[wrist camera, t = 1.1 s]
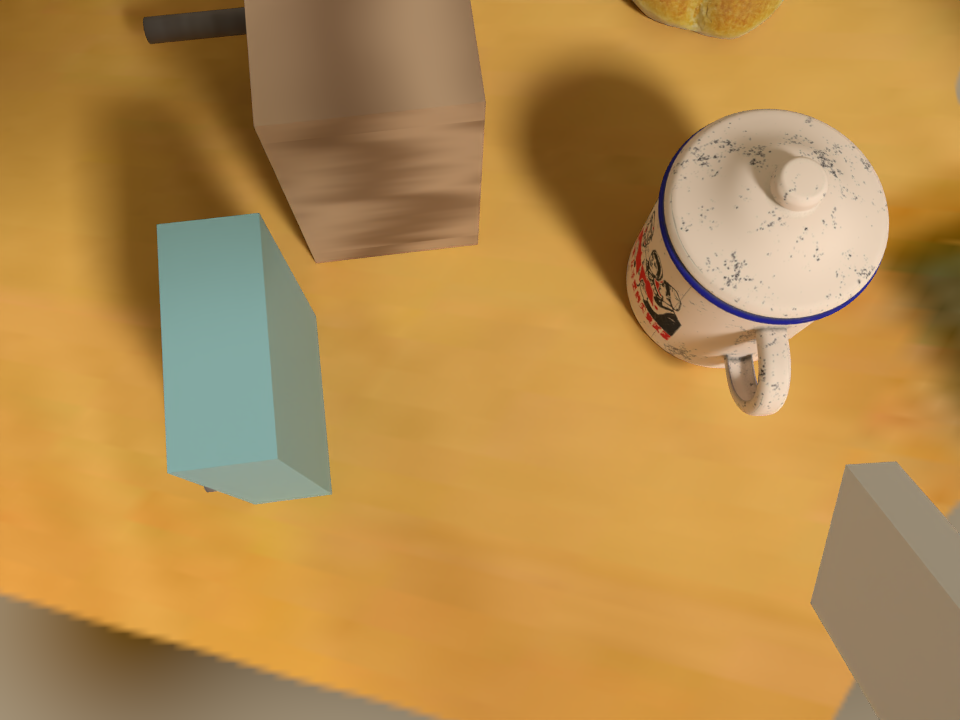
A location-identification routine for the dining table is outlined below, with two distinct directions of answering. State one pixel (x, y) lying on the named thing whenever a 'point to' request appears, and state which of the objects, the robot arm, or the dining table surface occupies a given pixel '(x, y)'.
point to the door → (239, 364)
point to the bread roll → (711, 15)
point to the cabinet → (362, 116)
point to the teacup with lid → (756, 246)
